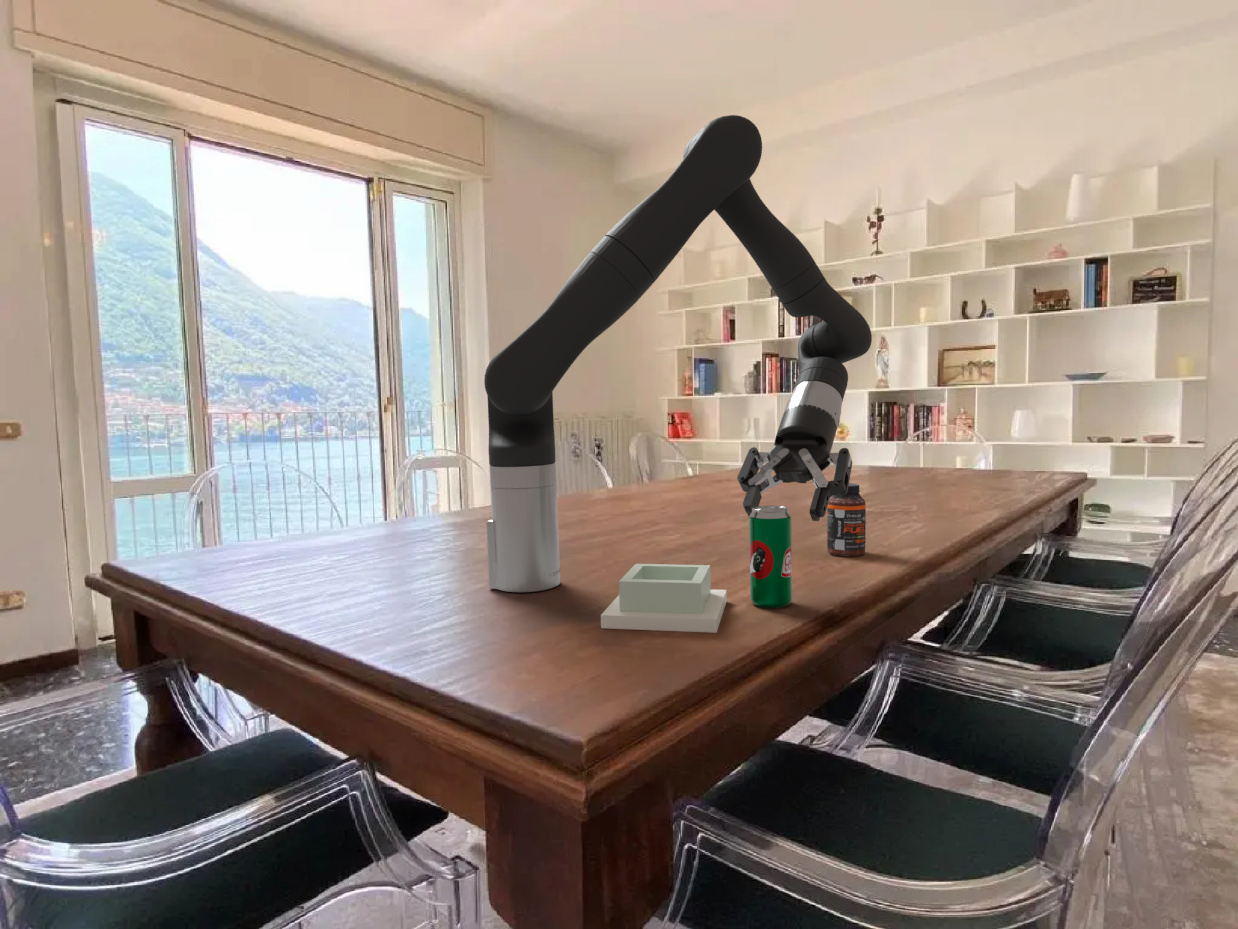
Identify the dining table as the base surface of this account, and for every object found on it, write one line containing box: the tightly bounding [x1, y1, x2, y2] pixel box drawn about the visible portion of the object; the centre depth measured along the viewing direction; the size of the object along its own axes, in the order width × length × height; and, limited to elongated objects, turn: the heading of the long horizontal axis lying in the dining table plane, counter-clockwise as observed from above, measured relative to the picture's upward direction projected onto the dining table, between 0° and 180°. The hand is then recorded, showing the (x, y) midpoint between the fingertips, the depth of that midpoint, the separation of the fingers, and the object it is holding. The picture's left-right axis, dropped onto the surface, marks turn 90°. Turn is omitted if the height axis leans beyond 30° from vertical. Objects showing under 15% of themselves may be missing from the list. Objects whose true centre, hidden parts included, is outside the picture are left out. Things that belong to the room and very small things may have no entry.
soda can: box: [748, 505, 793, 609], centre depth 92 cm, size 5×5×12 cm
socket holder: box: [600, 563, 728, 634], centre depth 90 cm, size 13×13×5 cm
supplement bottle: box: [826, 482, 867, 557], centre depth 121 cm, size 6×6×11 cm
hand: (781, 515), depth 95 cm, fingers open, 8 cm apart
